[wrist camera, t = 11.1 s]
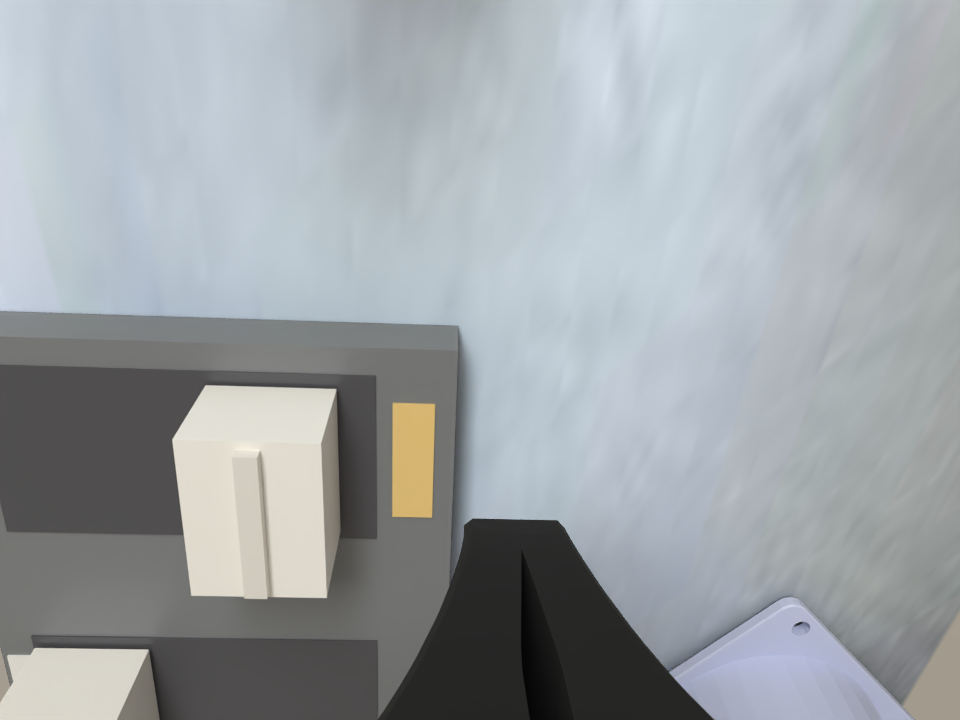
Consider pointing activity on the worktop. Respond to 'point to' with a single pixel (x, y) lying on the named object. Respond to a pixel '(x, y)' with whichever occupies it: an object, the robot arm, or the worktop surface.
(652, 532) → the worktop surface
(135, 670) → the middle tab
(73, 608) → the switch plate
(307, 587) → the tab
